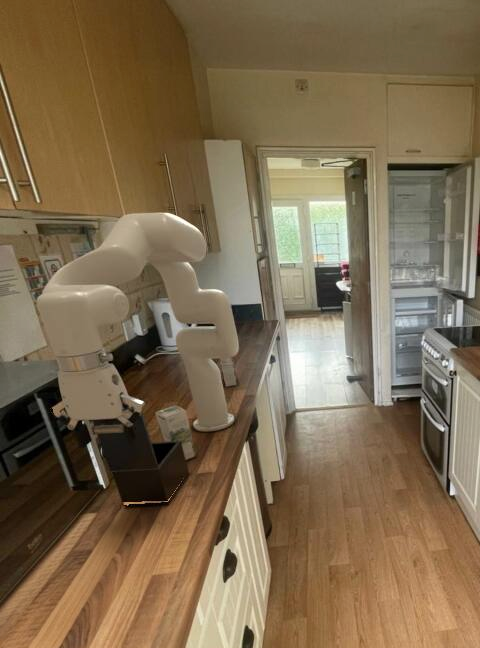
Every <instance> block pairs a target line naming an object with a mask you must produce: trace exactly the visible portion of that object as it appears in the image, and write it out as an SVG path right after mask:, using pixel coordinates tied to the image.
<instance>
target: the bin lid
mask: <svg viewBox="0 0 480 648" xmlns="http://www.w3.org/2000/svg"><path fill="white" fill-rule="evenodd" d="M129 411H131V412H132V413H134V407H131V408H130V409H129ZM124 416H125V415H124ZM91 422H92V424H93V433H94V434H95V435H96V436H97V438H98V440H99V443H100V446H101V449H102V452H103V455H104V457H105V461H106V463H107V466H108V469H109V471H110V472H113V471H122V470H140V469H157V468H158V467H159V466H158V463H157V460H156V456H155V453H154V449H153V446H152V443H153V442H152V439H151V437H150V433H149V430H148V426H147V423H146V419H145V417H144V412H143V413H142V415H141V416H140V417H139V419H138V420H137V421H136V424H137V427H138V430H139V434H140V437H139V439H138V440H137V441H136V442H135V443H134V444H133V445H129V444H128V441H127V438H126V435H125V431H124V427H125V426H126V425H125V424H123V423H122V422H121V421H120V420H118V419H117V418H114V419H98V420H91Z"/></svg>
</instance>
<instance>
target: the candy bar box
mask: <svg viewBox="0 0 480 648" xmlns="http://www.w3.org/2000/svg"><path fill="white" fill-rule="evenodd" d="M218 359H219V365H220V369H221V373H222V374H221V375H222V378H223V383H224V386H225V388H228V387H229V388H230V387H235V386H238V380H237V375H236V369H235V364H234V359H233V357H231V358H218Z"/></svg>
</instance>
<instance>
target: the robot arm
mask: <svg viewBox="0 0 480 648" xmlns="http://www.w3.org/2000/svg"><path fill="white" fill-rule="evenodd" d="M206 255H207V242H206V239H205V237H204V235H203V233H202V232H201V231H200V229H199V228H197V227H196V226H195V225H193V224H192V223H190V222H188V221H187V220H185V219H183V218H181V217H179V216H178V215H175V214H173V213H169V212H135V213H127V214H124V215H122V216H121V217H120V218H119V219H118V220H117V221H116V223H115V224H114V226H113V227H112V228H111V230H110V231H109V233H108V234H107V236H106V237H105V239H104V240H103V241H102V243H101V245H100V246H99V247H97V248H95V249H92V250H91V251H89V252H87V253H85V254H83V255H81V256H79V257H78V258H75V259H74V260H72V261H69V262H68V263H66V264H64V265H63V266H62V267H60V268H59V269H58V270H57V271H56V272H55V273H54V274H53V275H52V277H51V278H50V279H49V280H48V282H47V284H46V285H45V286H44V288H43V290H42V292H41V294H40V295H39V296H37V298H36V306H37V310H38V312H39V315H40V319H41V321H42V323H43V326H44V330H45V332H46V335H47V337H48V340H49V342H50V343H49V344H50V346H51V348H52V351H53V354H54V357H55V359H56V362H57V365H58V368H59V370H58V371H57V380H58V387H59V392H60V396H61V399H62V400H61V401H60V402H58V403H56V404H55V405H53V406H52V407H51V408H52V409H53V413H54V414H53V413H52V414H53V415H54V416H55V417H56V418H58V421H59V422H60V423H62V424H63V425H64V426H65V425H66V426H67V429H68V430H70V431H72V433H73V436H74V439H75V441H76V442H77V445H78V447H79V448H80V449H83V448H85V447H86V446H88V445H89V444H90V443H91V442H92V441H93V439H92V436H91V433H90V431H89V427H88V425H87V424H86V422H85V423H83V422H84V421H92V420H98V419H114V418H117V419H118V420H120V421H121V422H122V423H123V424H125V425H126V426H125V427H124V431H125V435H126V438H127V441H128V444H129V445H133V444H134V443H135V442H136V441H137V440H138V439H139V437H140V434H139V430H138V427H137V424H136V421H137V420H138V419H139V417H140V416H141V415H142V413H143V414H144V412H143V411H144V409H145V406H146V403H145V401H143V400H140V399H139V398H136V397H133V396H130V395H129V394H128V391H127V388H126V386H125V383H124V380H123V379H122V377H121V374H120V372H119V371H118V369H117V368H116V366H115V365H114V363H109V362H111V361H114V356H113V354H112V353H107V351H106V349H105V348H104V345H103V342H102V339H101V335H100V332H99V329H98V328H99V327H104V326H112V325H117V324H119V323H121V322H123V321H124V320H125V319H126V318H127V316H128V314H129V312H130V303H129V299H128V297H127V296H126V294H125V293H124V292H123V291H122V290H121V289H120V288H118V287H117V286H120V285H123V284H127V283H129V282H131V281H133V280H135V279H137V278H138V277H139V276H140V275H141V274H142V272H143V270H144V268H145V266H146V264H147V263H149V264H150V265H152V266H153V267H154V268H155V269H156V270H157V272H158V273H159V274H160V276H161V278H162V280H163V283H164V286H165V290H166V293H167V297H168V300H169V305H170V307H171V310H172V314H173V316H174V318H175V320H176V321H177V322H179V323H181V324H184V325H186V324H187V325H202V324H203V325H204V324H205V325H206V324H207V325H208V324H209V326H207V325H206V326H205V325H204V326H188V327H185V328H182V329H180V330H179V331H178V332H177V334H176V336H175V344H176V348H177V351H178V353H179V356H180V358H181V360H182V363H183V365H184V368H185V373H186V376H187V381H188V385H189V389H190V393H191V398H192V402H193V407H194V411H195V415H196V419H195V420H194V421H193V423H192V426H193V429H194V430H196V431H197V432H203V433H204V432H206V433H209V432H216V431H221V430H223V429H226V428H229V427H230V426H231V425H233V424H234V422H235V416H234V415H233V414H232V413H229V411H228V403H227V400H226V395H225V390H224V386H223V385H224V384H223V380H222V374H221V370H220V368H219V366H218V365H217V363H215V361H214V359H219V358H231V357H232V358H234V357H236V356H237V355H238V353H239V349H240V344H239V337H238V332H237V328H236V327H237V326H236V322H235V318H234V314H233V308H232V305H231V302H230V299H229V297H228V295H227V294H226V293H225V292H224V291H222V290H220V289H213V288H212V289H211V288H209V289H207V288H206V289H201V287H200V285H199V281H198V278H197V274H196V271H195V269H194V268H193V266H192V265H191V264H190V263H198V262H201V261H202V260H204V259H205V257H206ZM210 324H212V325H214V326H210ZM130 408H134V413H132V412H131V411H129V409H130ZM124 415H125V416H124Z"/></svg>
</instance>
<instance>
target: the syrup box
mask: <svg viewBox="0 0 480 648" xmlns="http://www.w3.org/2000/svg"><path fill="white" fill-rule="evenodd" d="M155 417H156V421H157V424H158V428H159V431H160V436H161V439H162V442H173V441H181V444H182V448H183V452H184V456H185V460H186V461H189V460H191V459H193V458H195V457H197V454H196V453H197V452H196V448H195V444H194V439H193V435H192V431H191V430H192V429H191V427H190V422H189V418H188V413H187V410H185V409H184V408H182V407H181V406H178V405H172V406H169V407H167V408H164V409H161V410H158V411H155Z"/></svg>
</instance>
